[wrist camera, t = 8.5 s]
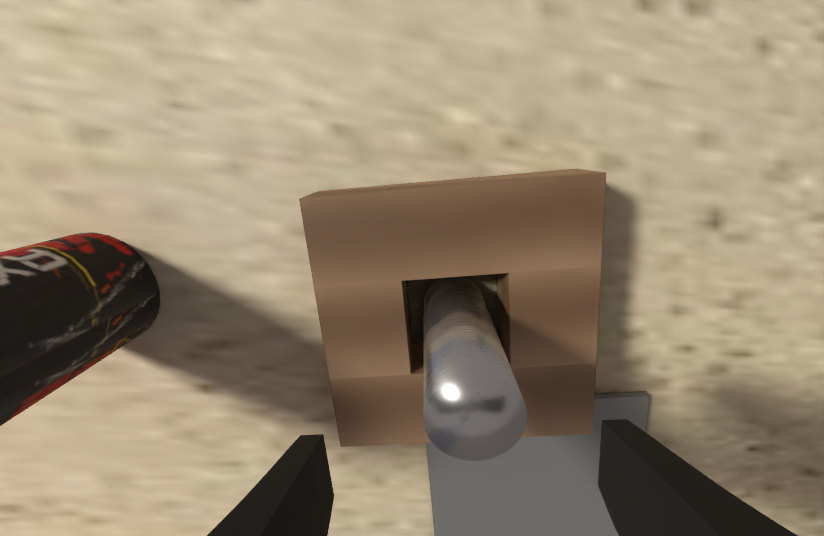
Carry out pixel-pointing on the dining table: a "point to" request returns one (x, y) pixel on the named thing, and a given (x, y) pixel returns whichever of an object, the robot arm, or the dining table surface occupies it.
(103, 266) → the deodorant
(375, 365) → the hole block
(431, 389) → the peg
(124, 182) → the dining table surface
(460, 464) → the mat
